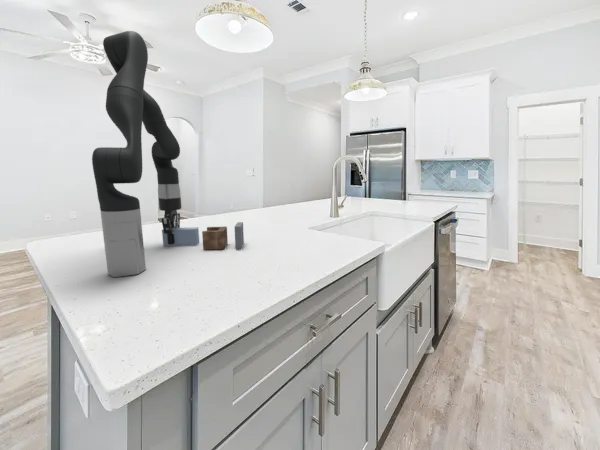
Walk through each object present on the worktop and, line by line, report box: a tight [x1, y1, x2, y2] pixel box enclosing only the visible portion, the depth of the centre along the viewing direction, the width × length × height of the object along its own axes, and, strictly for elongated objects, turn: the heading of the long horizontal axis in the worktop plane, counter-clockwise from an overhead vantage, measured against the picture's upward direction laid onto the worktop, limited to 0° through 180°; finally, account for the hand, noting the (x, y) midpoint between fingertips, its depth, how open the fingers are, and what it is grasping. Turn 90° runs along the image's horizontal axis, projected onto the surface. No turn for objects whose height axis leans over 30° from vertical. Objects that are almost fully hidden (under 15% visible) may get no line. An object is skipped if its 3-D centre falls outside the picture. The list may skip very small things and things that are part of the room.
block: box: [201, 226, 229, 250], centre depth 113 cm, size 7×9×6 cm
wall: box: [234, 221, 245, 250], centre depth 113 cm, size 2×9×8 cm, turn 4°
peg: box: [161, 226, 200, 247], centre depth 117 cm, size 12×4×6 cm, turn 95°
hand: (173, 242), depth 117 cm, fingers closed on peg, 4 cm apart
